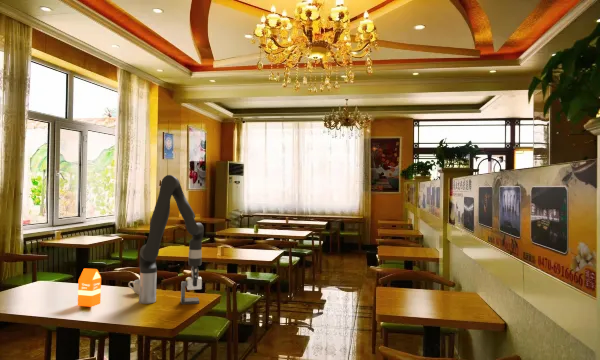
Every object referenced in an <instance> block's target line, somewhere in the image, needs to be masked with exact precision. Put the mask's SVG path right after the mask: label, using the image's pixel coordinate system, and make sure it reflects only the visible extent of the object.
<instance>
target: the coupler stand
mask: <svg viewBox="0 0 600 360" xmlns="http://www.w3.org/2000/svg"><path fill="white" fill-rule="evenodd" d="M180 286H181V288H180V289H181V290H180V304H182V305H195V304H196V305H197V304H200V299H199V297H197V296H196V297H186V287H187V282H186V280H185V281H181V285H180Z"/></svg>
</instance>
